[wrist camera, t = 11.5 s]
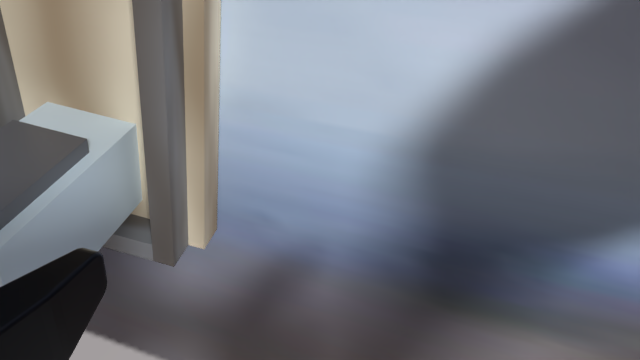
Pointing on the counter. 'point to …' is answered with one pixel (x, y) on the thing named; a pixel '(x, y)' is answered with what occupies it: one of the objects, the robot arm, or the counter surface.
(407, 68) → the counter surface
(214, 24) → the rail
